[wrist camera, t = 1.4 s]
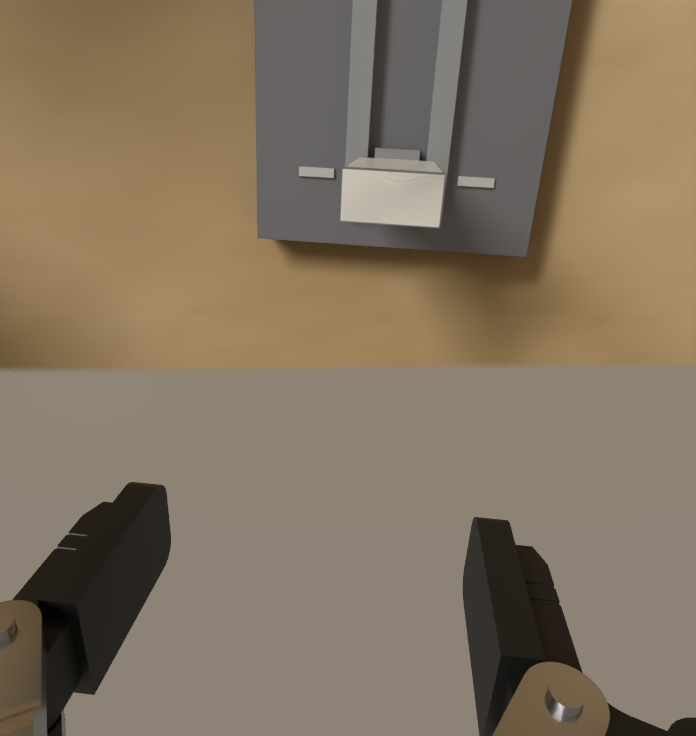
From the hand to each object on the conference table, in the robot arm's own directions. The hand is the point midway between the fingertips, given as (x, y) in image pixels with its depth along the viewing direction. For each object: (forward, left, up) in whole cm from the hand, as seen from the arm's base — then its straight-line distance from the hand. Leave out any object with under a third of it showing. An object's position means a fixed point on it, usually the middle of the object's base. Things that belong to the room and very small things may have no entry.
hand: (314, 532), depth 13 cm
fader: (+1, +6, -23) cm, 24 cm away
